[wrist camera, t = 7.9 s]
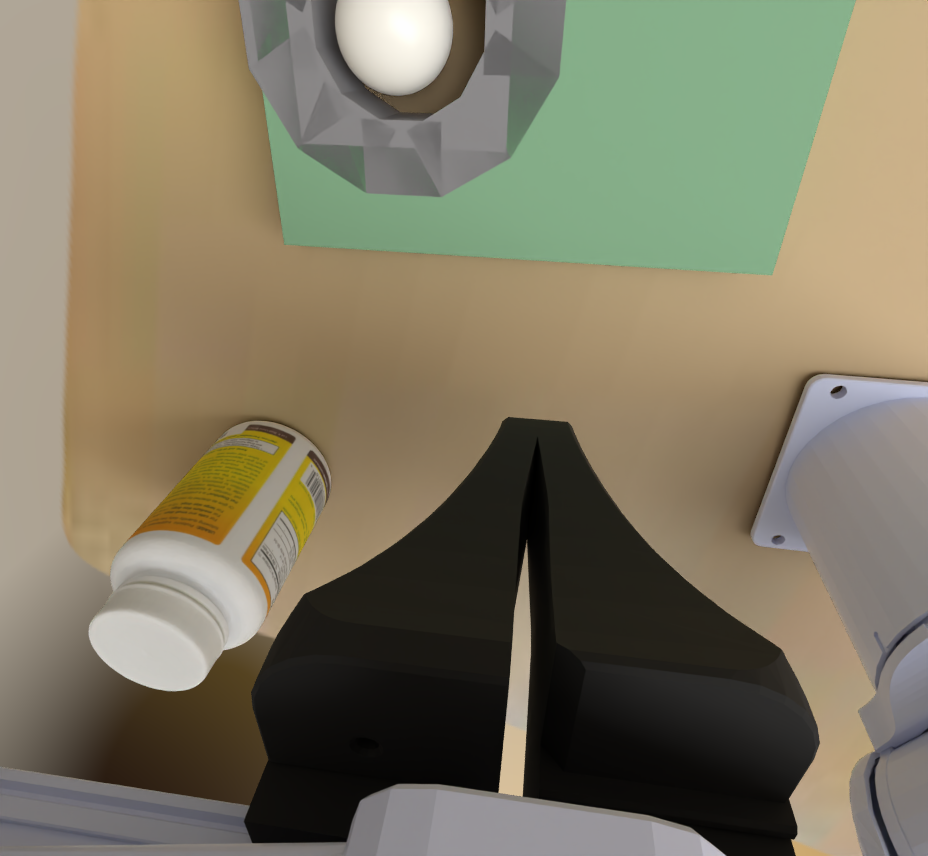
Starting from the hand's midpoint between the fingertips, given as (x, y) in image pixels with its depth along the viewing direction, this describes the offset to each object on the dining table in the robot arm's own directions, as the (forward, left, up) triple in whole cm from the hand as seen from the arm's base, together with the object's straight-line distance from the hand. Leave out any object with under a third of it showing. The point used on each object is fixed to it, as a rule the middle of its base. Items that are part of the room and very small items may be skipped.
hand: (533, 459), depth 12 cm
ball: (+5, -8, -9) cm, 13 cm away
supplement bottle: (+12, +9, -11) cm, 18 cm away
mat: (+1, -8, -10) cm, 13 cm away
